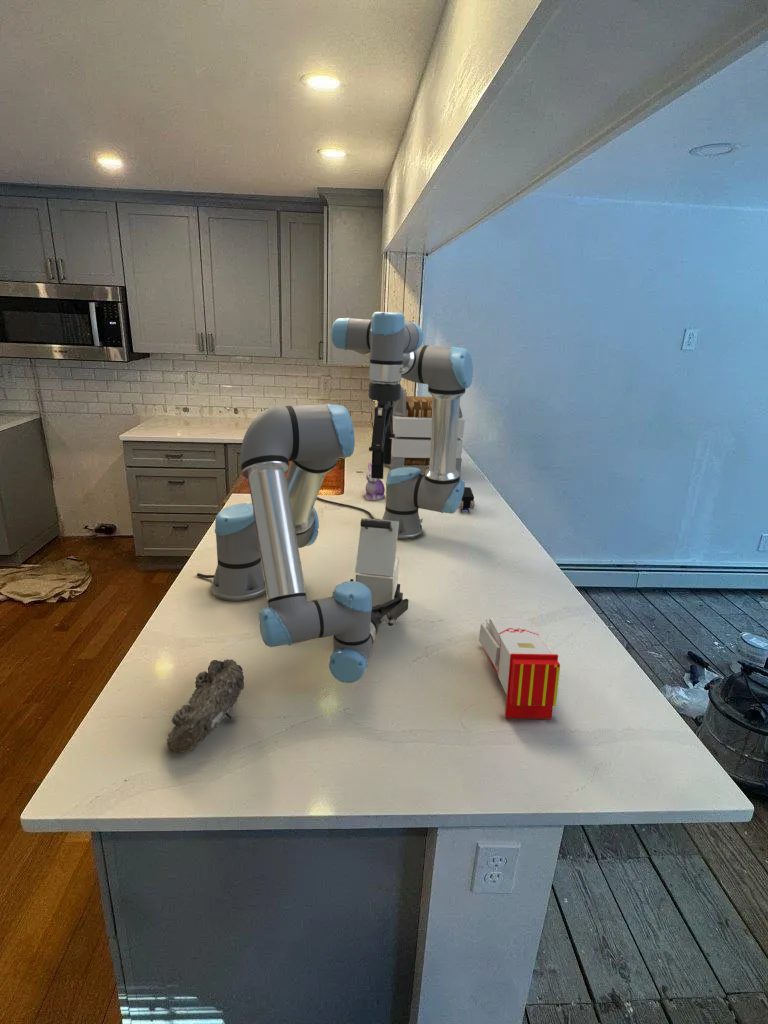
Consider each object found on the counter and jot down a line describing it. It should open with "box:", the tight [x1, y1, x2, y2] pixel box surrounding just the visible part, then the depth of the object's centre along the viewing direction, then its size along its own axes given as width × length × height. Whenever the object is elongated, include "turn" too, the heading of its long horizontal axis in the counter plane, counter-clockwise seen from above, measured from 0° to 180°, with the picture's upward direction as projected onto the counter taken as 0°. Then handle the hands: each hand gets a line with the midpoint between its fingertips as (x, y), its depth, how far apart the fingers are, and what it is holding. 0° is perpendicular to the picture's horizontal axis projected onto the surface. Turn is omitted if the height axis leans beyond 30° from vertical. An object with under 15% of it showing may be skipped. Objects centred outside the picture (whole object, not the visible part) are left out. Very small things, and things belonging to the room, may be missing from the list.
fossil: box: [166, 658, 245, 754], centre depth 106 cm, size 22×10×15 cm
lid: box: [354, 517, 399, 577], centre depth 140 cm, size 14×10×9 cm
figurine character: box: [458, 486, 476, 514], centre depth 227 cm, size 7×8×15 cm
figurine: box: [364, 462, 386, 501], centre depth 234 cm, size 9×10×15 cm
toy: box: [478, 616, 561, 720], centre depth 122 cm, size 12×13×30 cm
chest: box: [354, 556, 400, 616], centre depth 151 cm, size 13×10×11 cm
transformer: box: [384, 386, 465, 480], centre depth 268 cm, size 34×33×41 cm
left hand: (375, 586), depth 147 cm, fingers open, 11 cm apart
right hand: (381, 470), depth 139 cm, fingers open, 13 cm apart
